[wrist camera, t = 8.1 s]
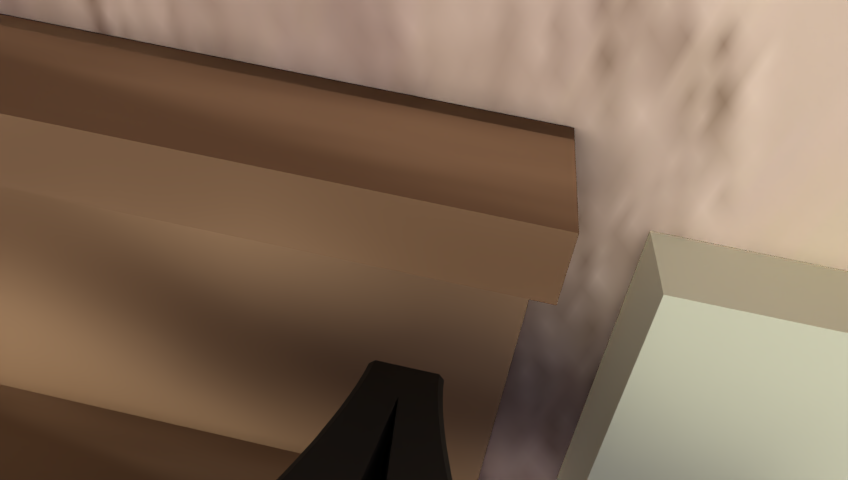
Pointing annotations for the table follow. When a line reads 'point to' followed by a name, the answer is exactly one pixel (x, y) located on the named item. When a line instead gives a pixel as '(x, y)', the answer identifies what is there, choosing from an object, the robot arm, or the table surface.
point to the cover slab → (720, 371)
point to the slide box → (250, 256)
